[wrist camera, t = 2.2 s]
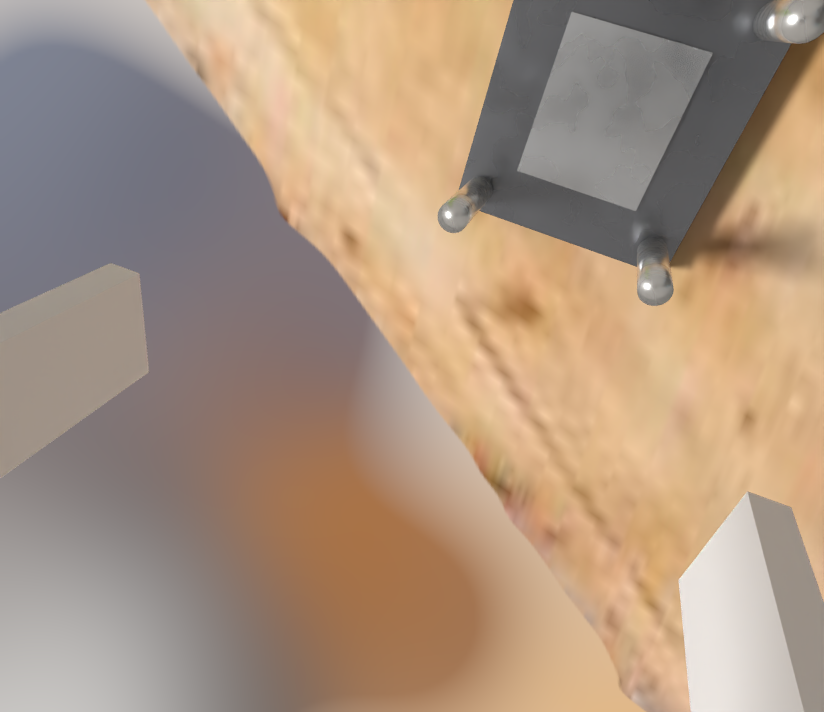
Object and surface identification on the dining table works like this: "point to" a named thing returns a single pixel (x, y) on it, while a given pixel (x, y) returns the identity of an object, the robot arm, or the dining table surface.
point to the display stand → (621, 119)
